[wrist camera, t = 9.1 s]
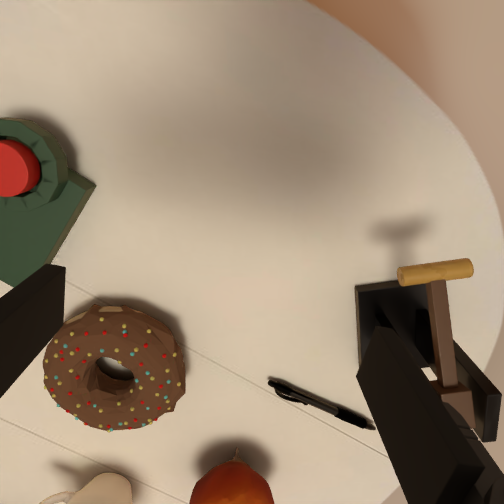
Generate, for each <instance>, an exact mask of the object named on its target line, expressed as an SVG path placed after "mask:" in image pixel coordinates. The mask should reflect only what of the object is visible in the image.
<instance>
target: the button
mask: <svg viewBox="0 0 504 504" xmlns="http://www.w3.org/2000/svg"><path fill="white" fill-rule="evenodd" d="M39 178H40V165H39V162H38V160H37V158H36V156H35V155H34V153H33V152H32V151H31V150H30V149H29V148H28V147H27V146H25V145H24V144H22V143H20V142H17V141H14V140H0V196H3V197H12V196H15V195H18V194H21V193H24V192H26V191H29V190H31V189H32V188H34V187H35V186H36V184H37V183H38V181H39Z"/></svg>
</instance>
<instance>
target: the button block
mask: <svg viewBox="0 0 504 504" xmlns="http://www.w3.org/2000/svg"><path fill="white" fill-rule="evenodd" d="M0 140H14V141H17V142H20V143H22V144H24V145H25V146H27V147H28V148H29V149H30V150H31V151H32V152H33V153H34V155H35V156H36V158H37V160H38V162H39V165H40V178H39V181H38V183H37V184H36V186H35V187H34V188H32V189H31V190H29V191H26V192H24V193H21V194H18V195H15V196H12V197H3V196H0V280H1V281H3V282H5V283H7V284H8V285H10V286H12V287H16V286H17V285H18V284H20V283H21V282H22V281H24V280H25V279H26V278H27V277H29V276H30V275H31V274H33V273H34V272H35V271H37V270H38V269H39V268H41V267H42V266H43V265H45V264H50V263H51V262H52V260H53V258H54V257H55V255H56V253H57V252H58V250H59V248H60V247H61V245H62V243H63V241H64V240H65V238H66V236H67V235H68V233H69V231H70V230H71V228H72V226H73V224H74V223H75V221H76V219H77V218H78V216H79V214H80V213H81V211H82V209H83V208H84V206H85V204H86V202H87V201H88V199H89V197H90V196H91V194H92V192H93V191H94V189H95V187H96V185H94V184H93V183H91V182H90V181H88V180H87V179H85V178H84V177H82V176H81V175H79V174H78V173H76V172H75V171H73V170H72V169H70V168H69V167H67V157H66V155H65V153H64V152H63V150H62V148H61V147H60V145H59V143H58V142H57V140H56V138H55V137H54V136H53V135H52V134H51V133H49V132H48V131H46V130H45V129H43V128H42V127H40V126H39V125H37V124H36V123H34V122H33V121H30V120H23V119H15V118H0Z"/></svg>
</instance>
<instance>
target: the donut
mask: <svg viewBox="0 0 504 504" xmlns="http://www.w3.org/2000/svg"><path fill="white" fill-rule="evenodd" d="M102 356H103V357H109V358H112V359H115V360H117V361H118V363H119V364H121V365H122V366H124V367H126V368H128V369H130V370H131V372H132V373H133V375H134V379H130V380H127V381H123V380H117V379H112V378H110V377H109V376H107V375H106V374H104V373H103V372H101V371H100V369H99V367H98V366H97V364H96V360H98V359H99V358H100V357H102ZM43 369H44V373H45V374H44V384H45V386H44V389H47V390H48V392H49V393H50V395H51V397H52V398H53V399H54V400H55V401H56V403H57V407H61V408H63V409H64V410H66V412H67V413H71V414H72V415H74V416H75V419H76V420H78V419H80V420H81V421H83V422H84V425H89V426H90V427H94V428H97V429H101V430H105V431H108V432H111V431H113V430H124V429H129V430H130V429H137V428H141V427H144V426H146V425H148V424H150V425H151V424H152V422H153V421H157V419H158V417H160V416H161V415H163V414H164V413H167V412H173V411H174V408H175V405H176V402H177V401H178V400H179V399H180V398H181V397H182V396H183V395H184V394H185V365H184V362H183V354H182V351H181V348H180V347H179V345H178V344H177V342H176V340H175V339H174V337H173V335H172V333H171V331H170V329H169V328H168V327H167V326H165V325H164V324H163V323H161V322H159V321H158V320H156V319H154V318H152V317H151V316H149V315H146V314H144V313H142V312H140V311H136V310H133V309H131V308H129V307H127V306H126V305H123V306H120V307H113V306H105V307H101V306H98V305H95V304H94V305H93V306H92V307H91V308H90V309H89V310H88V311H86V312H84V313H81V314H79V315H77V316H75V317H73V318H71V319H69V320H68V321H65V322H64V323H63V326H62V327H61V328H60V330H59V331H58V332H57V333H56V334H55V335H54V337H53V339H52V340H51V342H50V343H49V344H48V346H47V348H46V352H45V356H44V359H43Z"/></svg>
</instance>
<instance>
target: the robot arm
mask: <svg viewBox="0 0 504 504" xmlns="http://www.w3.org/2000/svg"><path fill="white" fill-rule="evenodd" d="M65 273H66V267H62V266H57V265H52V264H45V265H43V266H42V267H41V268H39V269H38V270H37V271H35V272H34V273H33V274H31V275H30V276H29V277H27V278H26V279H25V280H24V281H22V282H21V283H20V284H18V285H17V286H16V287H14V288H13V289H12V290H10V291H9V292H8V293H6V294H5V295H4V296H2V297H1V298H0V398H1V397H2V396H3V395H4V393H5V392H6V391H7V390H8V389H9V388H10V386H11V385H12V384H13V383H14V382H15V381H16V379H17V378H18V377H19V376H20V375H21V374H22V372H23V371H24V370H25V369H26V368H27V367H28V366H29V364H30V363H31V362H32V361H33V360H34V359H35V357H36V356H37V355H38V354H39V353H40V352H41V350H42V349H43V348H44V347H45V346H46V345H47V343H48V342H49V341H50V340H51V339H52V338H53V337H54V335H55V334H56V333H57V332H58V331H59V330H60V328H61V327H62V326H63V319H64V296H65ZM356 378H357V380H358V383H359V385H360V388H361V390H362V392H363V395H364V397H365V400H366V402H367V405H368V407H369V409H370V412H371V414H372V417H373V419H374V422H375V424H376V426H377V429H378V431H379V434H380V436H381V439H382V441H383V444H384V446H385V448H386V451H387V453H388V456H389V458H390V461H391V463H392V465H393V468H394V470H395V473H396V475H397V478H398V480H399V483H400V485H401V487H402V489H403V492H404V495H405V497H406V500H407V502H408V504H504V474H503V473H502V471H501V470H500V469H499V467H498V466H497V464H496V463H495V461H494V460H493V459H492V457H491V456H490V455H489V453H488V452H487V450H486V449H485V448H484V446H483V444H482V443H481V442H480V441H478V437H477V436H476V435H475V433H474V432H473V430H471V429H470V426H469V425H468V423H467V422H466V420H465V419H464V418H463V416H462V415H461V414H460V413H459V412H458V411H457V410H456V409H455V408H454V407H452V406H451V405H450V404H449V403H447V402H441V400H440V399H439V397H438V396H437V394H436V393H435V391H434V390H433V388H432V387H431V385H430V384H429V382H428V381H427V379H426V378H425V376H424V375H423V373H422V372H421V370H420V369H419V367H418V366H417V364H416V363H415V361H414V360H413V359H412V357H411V356H410V354H409V353H408V351H407V350H406V348H405V347H404V345H403V344H402V342H401V341H400V339H399V338H398V336H397V335H396V333H395V332H394V330H393V329H391V328H385V327H380V326H376V327H375V329H374V332H373V334H372V337H371V340H370V342H369V345H368V347H367V350H366V352H365V355H364V357H363V360H362V362H361V365H360V368H359V370H358V373H357V375H356Z"/></svg>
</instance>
